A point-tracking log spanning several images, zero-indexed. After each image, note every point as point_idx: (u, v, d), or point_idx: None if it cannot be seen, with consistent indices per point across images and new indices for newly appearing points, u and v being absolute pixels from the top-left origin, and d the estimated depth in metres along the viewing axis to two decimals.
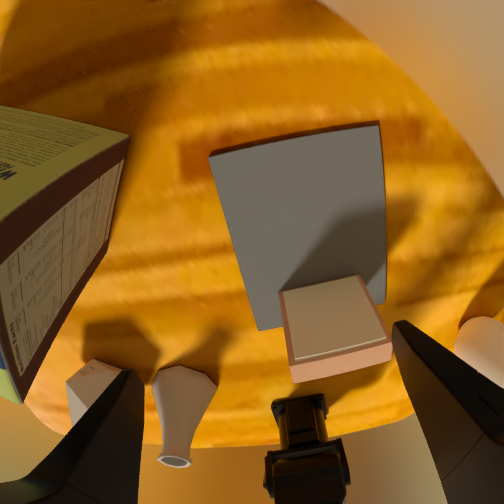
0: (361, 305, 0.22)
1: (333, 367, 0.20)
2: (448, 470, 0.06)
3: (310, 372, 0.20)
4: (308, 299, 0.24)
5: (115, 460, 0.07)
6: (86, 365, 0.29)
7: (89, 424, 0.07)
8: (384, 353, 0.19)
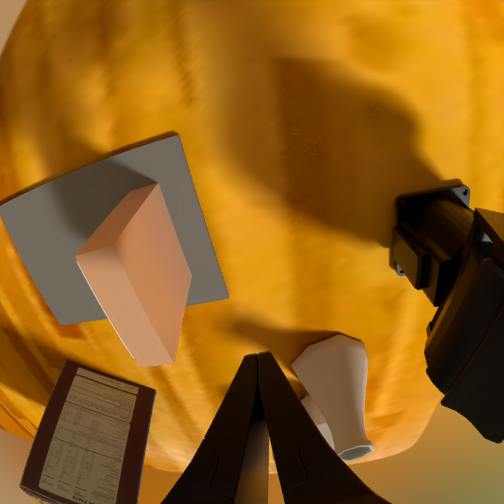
0: None
1: (134, 326, 0.14)
2: None
3: (148, 349, 0.15)
4: None
5: (258, 459, 0.07)
6: None
7: (233, 421, 0.07)
8: (98, 262, 0.12)
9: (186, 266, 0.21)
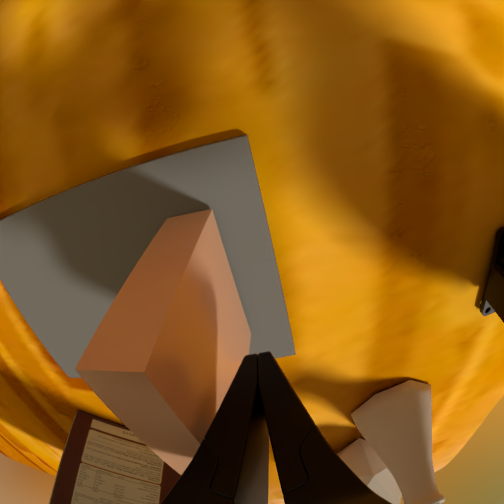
0: None
1: (181, 452, 0.08)
2: None
3: None
4: None
5: (258, 459, 0.07)
6: None
7: (233, 421, 0.07)
8: (119, 386, 0.06)
9: (245, 323, 0.15)
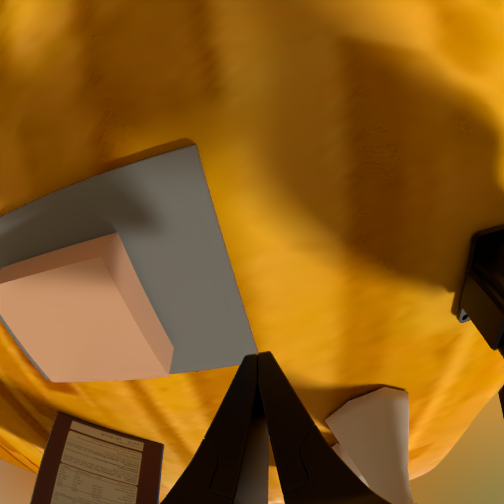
0: None
1: None
2: None
3: None
4: None
5: (258, 459, 0.07)
6: None
7: (233, 421, 0.07)
8: None
9: (151, 363, 0.14)
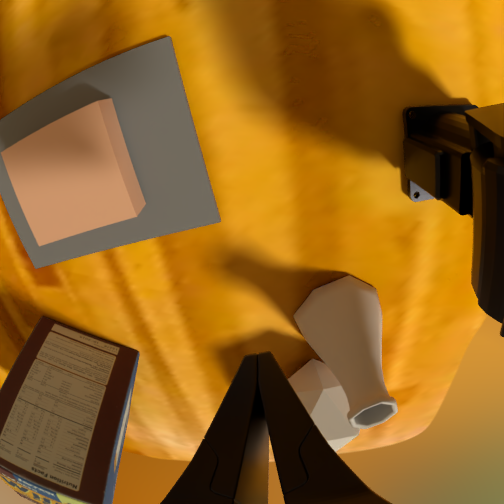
0: None
1: None
2: None
3: None
4: None
5: (258, 459, 0.07)
6: None
7: (233, 421, 0.07)
8: None
9: (123, 200, 0.17)
